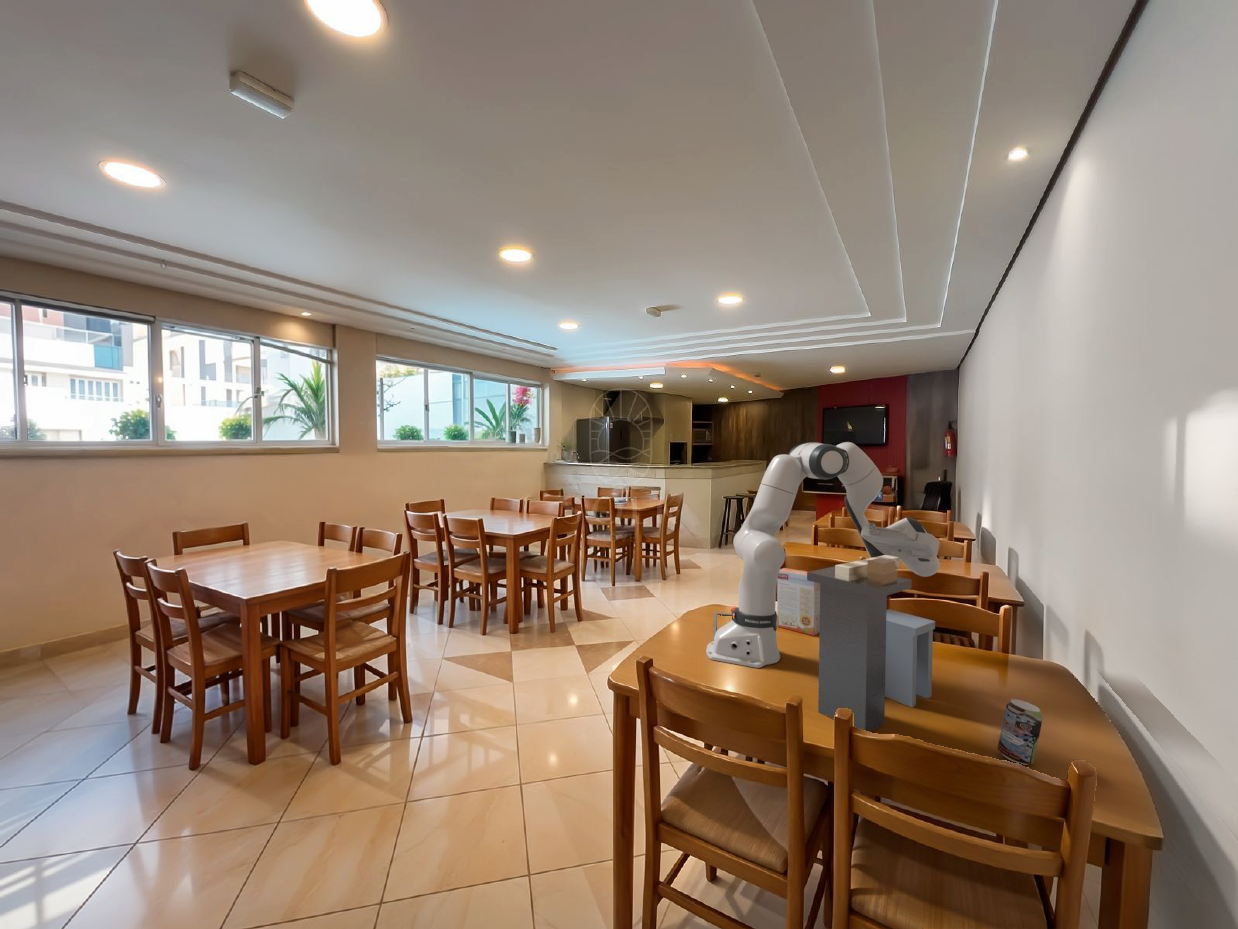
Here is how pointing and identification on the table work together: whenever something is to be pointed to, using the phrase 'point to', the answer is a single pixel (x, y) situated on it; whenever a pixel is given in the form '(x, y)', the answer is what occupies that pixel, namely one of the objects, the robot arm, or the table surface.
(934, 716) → the table surface
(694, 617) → the table surface
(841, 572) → the birch slat
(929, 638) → the slate trestle
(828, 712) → the steel pedestal
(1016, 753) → the beverage can
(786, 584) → the cracker box
